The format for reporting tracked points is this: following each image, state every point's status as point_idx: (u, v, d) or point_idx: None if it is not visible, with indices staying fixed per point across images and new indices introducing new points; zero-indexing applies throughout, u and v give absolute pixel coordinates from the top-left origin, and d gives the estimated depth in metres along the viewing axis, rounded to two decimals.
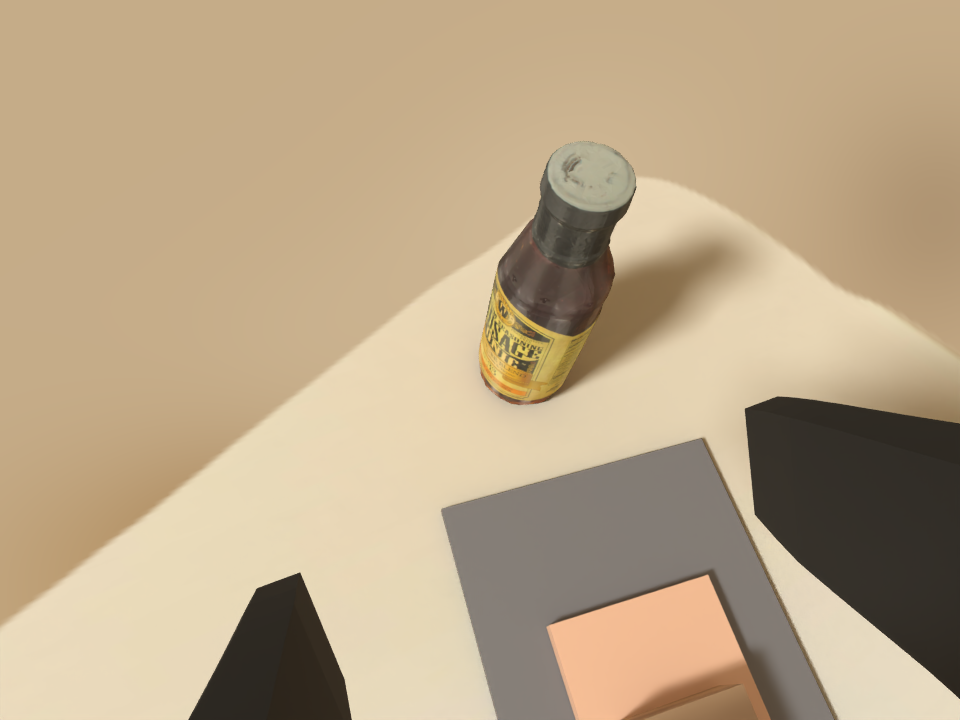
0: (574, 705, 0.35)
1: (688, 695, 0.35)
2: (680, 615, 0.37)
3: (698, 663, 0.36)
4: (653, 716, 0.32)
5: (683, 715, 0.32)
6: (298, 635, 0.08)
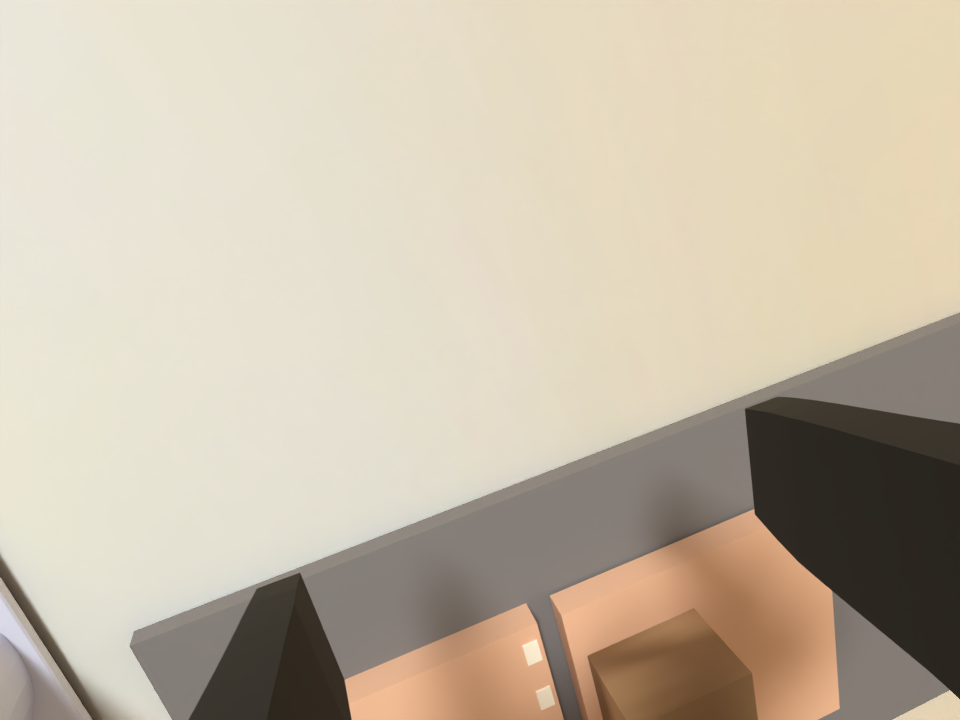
0: (721, 545, 0.22)
1: None
2: (801, 678, 0.25)
3: None
4: (753, 695, 0.20)
5: None
6: (298, 635, 0.08)
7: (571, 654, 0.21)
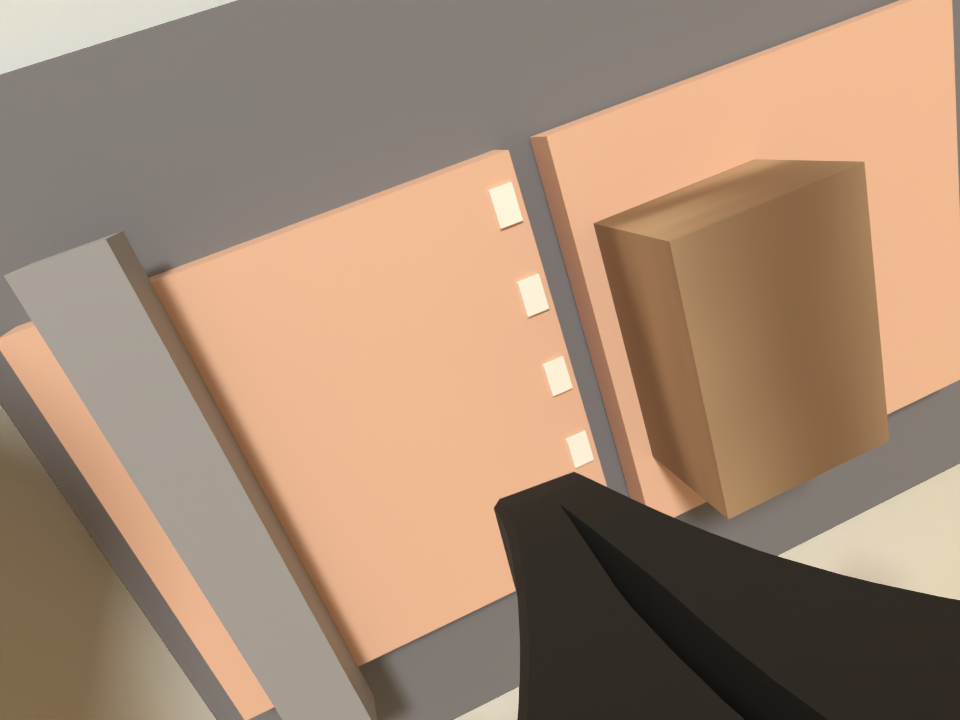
0: (793, 44, 0.14)
1: None
2: (912, 315, 0.17)
3: None
4: (865, 215, 0.12)
5: (858, 294, 0.13)
6: None
7: (568, 218, 0.14)
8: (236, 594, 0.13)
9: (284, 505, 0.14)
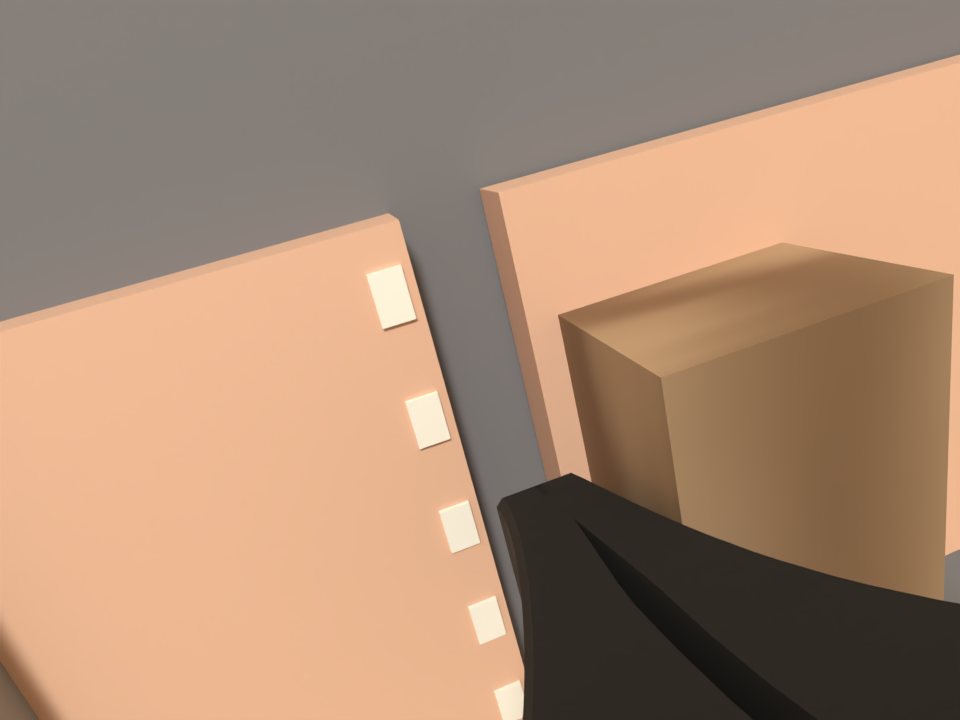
0: (846, 94, 0.10)
1: None
2: None
3: None
4: (945, 348, 0.08)
5: (923, 457, 0.09)
6: None
7: (523, 306, 0.10)
8: None
9: (45, 696, 0.10)
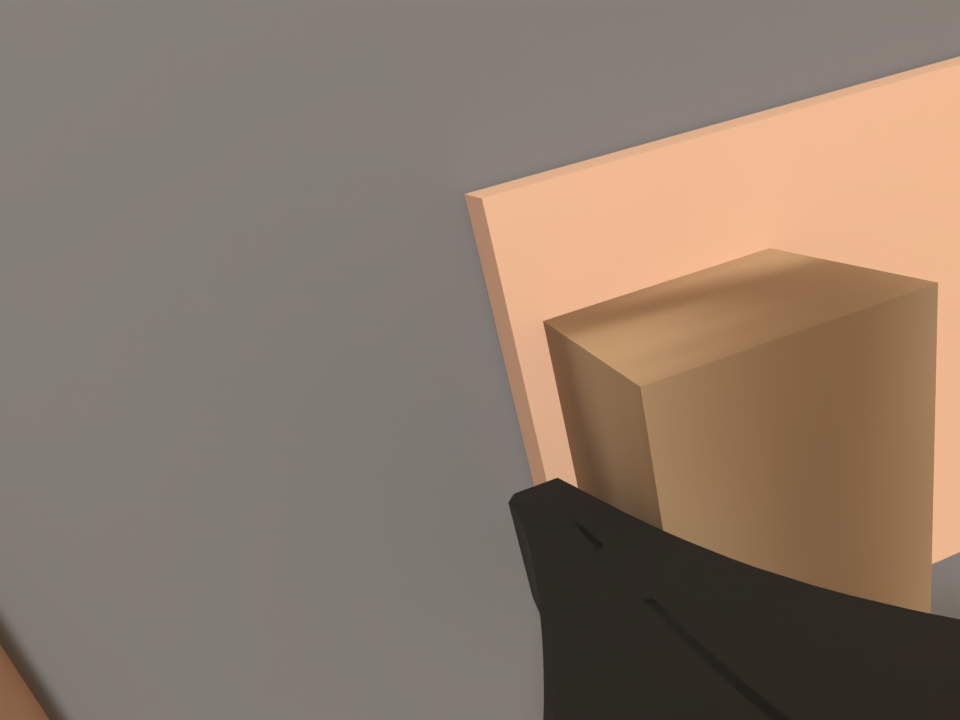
0: (834, 99, 0.10)
1: None
2: (953, 455, 0.13)
3: None
4: (930, 357, 0.08)
5: (909, 465, 0.09)
6: None
7: (507, 312, 0.10)
8: None
9: None
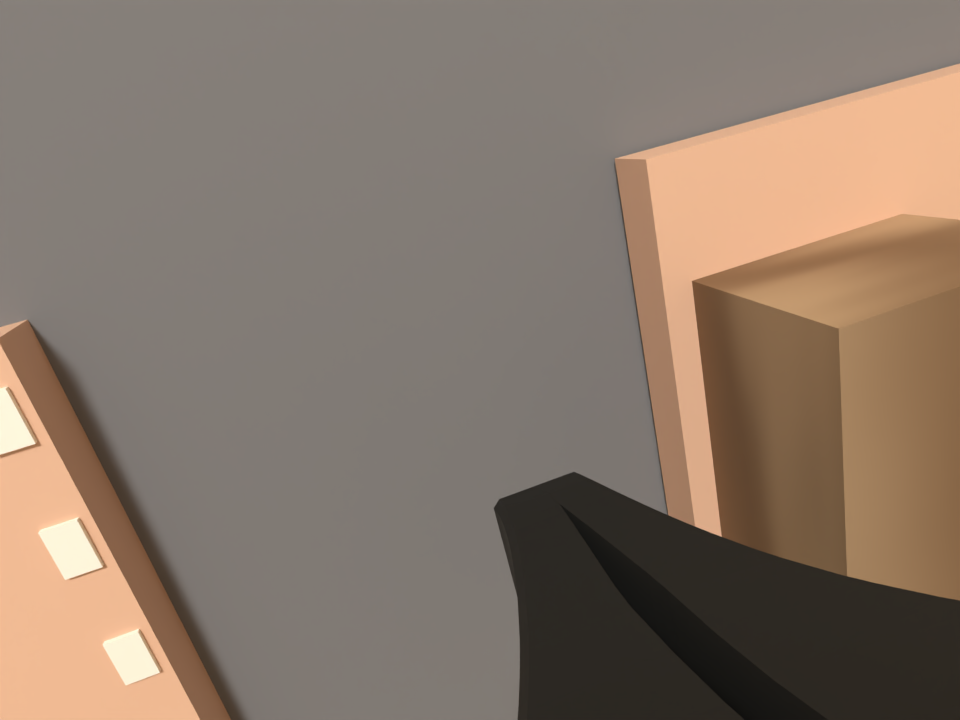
0: None
1: None
2: None
3: None
4: None
5: None
6: None
7: (660, 272, 0.10)
8: None
9: None
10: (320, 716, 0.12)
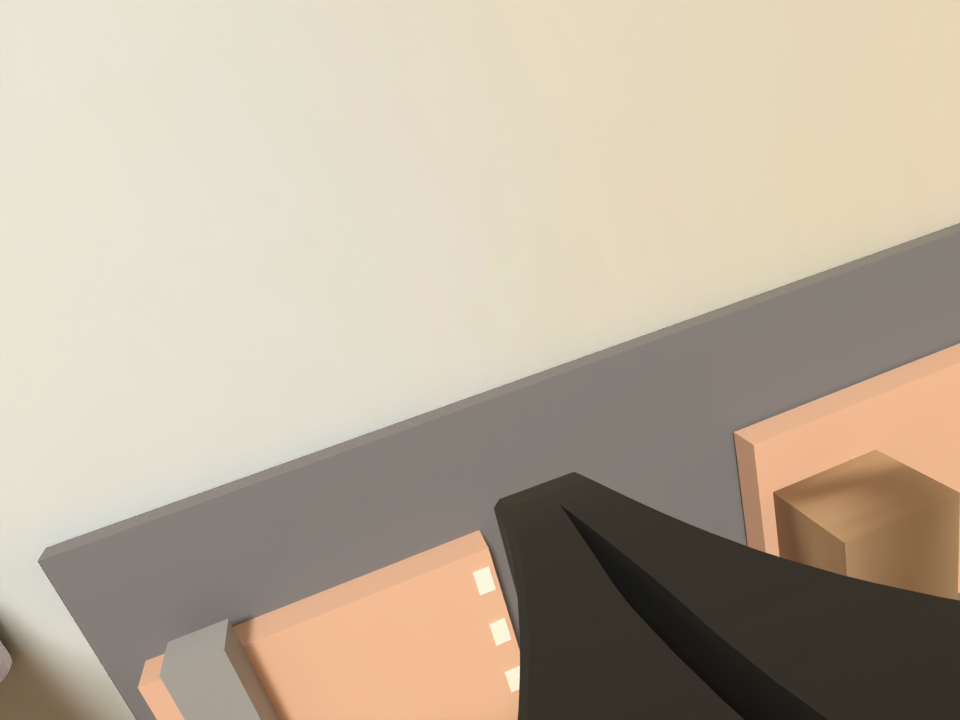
0: (907, 382, 0.21)
1: None
2: None
3: None
4: (956, 519, 0.19)
5: (947, 563, 0.20)
6: None
7: (758, 489, 0.21)
8: None
9: None
10: None
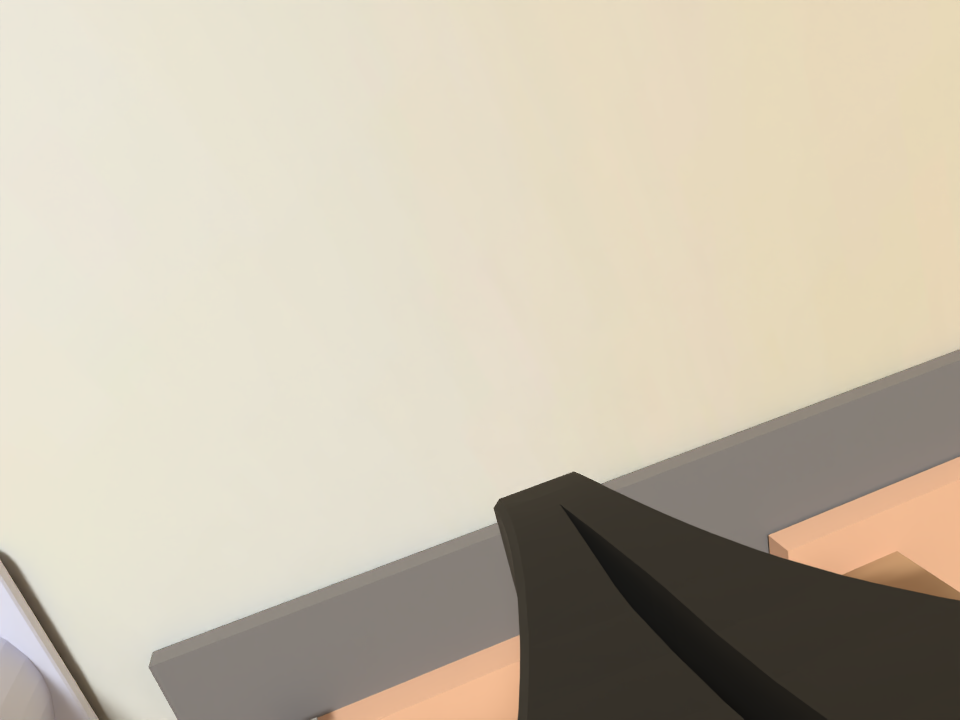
0: (927, 491, 0.23)
1: None
2: None
3: None
4: None
5: None
6: None
7: None
8: None
9: None
10: None
